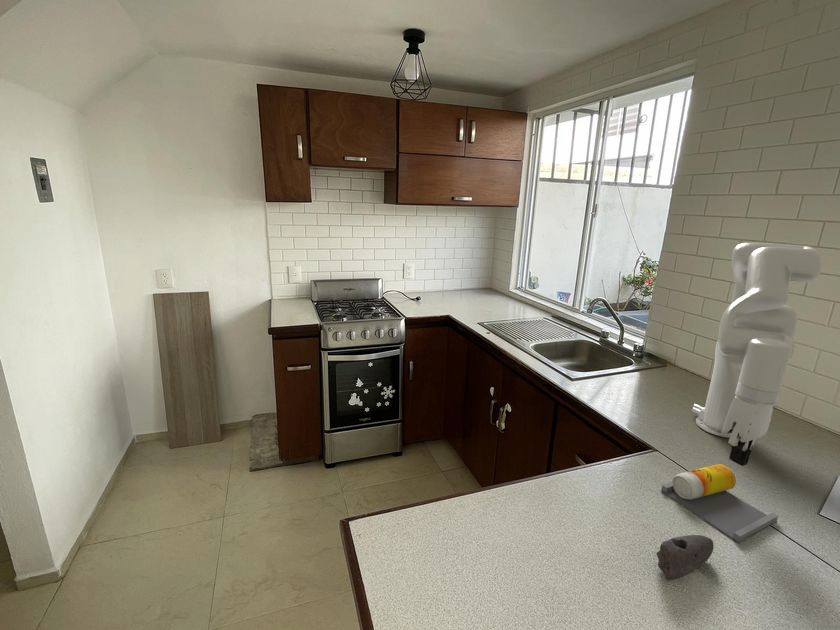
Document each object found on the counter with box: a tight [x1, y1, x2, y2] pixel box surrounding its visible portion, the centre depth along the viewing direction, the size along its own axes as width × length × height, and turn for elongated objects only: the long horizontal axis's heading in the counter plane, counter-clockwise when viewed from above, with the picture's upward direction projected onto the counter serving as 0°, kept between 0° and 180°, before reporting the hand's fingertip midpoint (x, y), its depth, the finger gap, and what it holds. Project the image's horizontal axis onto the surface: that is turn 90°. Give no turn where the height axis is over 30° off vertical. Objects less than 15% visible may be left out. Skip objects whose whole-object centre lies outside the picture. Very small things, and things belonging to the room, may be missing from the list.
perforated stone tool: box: [656, 534, 715, 581], centre depth 83 cm, size 15×5×7 cm, turn 111°
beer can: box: [671, 463, 737, 500], centre depth 105 cm, size 6×6×15 cm
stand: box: [660, 481, 779, 544], centre depth 101 cm, size 18×15×2 cm
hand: (738, 461), depth 100 cm, fingers closed
